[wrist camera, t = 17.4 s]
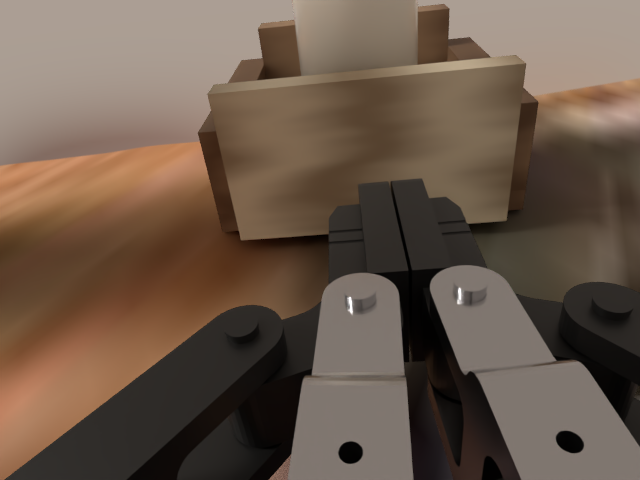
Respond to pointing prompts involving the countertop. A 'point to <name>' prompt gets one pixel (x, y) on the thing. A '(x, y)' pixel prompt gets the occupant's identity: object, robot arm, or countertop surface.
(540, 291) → the countertop surface
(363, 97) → the wooden drawer
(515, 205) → the box
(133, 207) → the countertop surface
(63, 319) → the countertop surface
